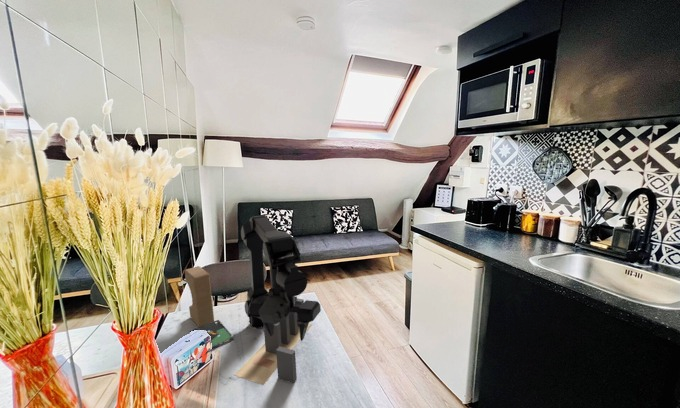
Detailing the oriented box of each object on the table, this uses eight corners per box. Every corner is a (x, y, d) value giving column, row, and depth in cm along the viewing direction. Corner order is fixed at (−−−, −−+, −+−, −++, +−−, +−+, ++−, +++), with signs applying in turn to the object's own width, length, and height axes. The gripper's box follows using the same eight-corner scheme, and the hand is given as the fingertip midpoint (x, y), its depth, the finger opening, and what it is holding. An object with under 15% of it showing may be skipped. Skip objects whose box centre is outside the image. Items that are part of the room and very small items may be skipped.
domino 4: (295, 335, 96) (294, 308, 94) (283, 332, 97) (281, 306, 96) (297, 333, 97) (296, 306, 95) (285, 330, 99) (283, 304, 97)
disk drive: (189, 338, 99) (202, 359, 88) (188, 331, 98) (201, 351, 87) (219, 325, 105) (235, 343, 95) (218, 319, 105) (234, 336, 94)
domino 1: (279, 355, 86) (277, 325, 85) (265, 351, 88) (263, 322, 87) (281, 351, 88) (280, 322, 86) (268, 348, 90) (266, 319, 88)
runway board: (234, 378, 79) (234, 374, 79) (289, 322, 106) (288, 319, 105) (263, 388, 75) (263, 384, 75) (312, 327, 102) (312, 324, 102)
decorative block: (190, 317, 111) (184, 269, 107) (205, 311, 114) (199, 265, 111) (198, 329, 103) (192, 278, 99) (214, 322, 106) (209, 273, 103)
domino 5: (302, 327, 100) (301, 301, 98) (290, 324, 102) (289, 299, 100) (304, 324, 102) (303, 299, 100) (292, 322, 103) (291, 297, 102)
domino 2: (287, 344, 91) (285, 316, 89) (274, 341, 93) (272, 314, 91) (290, 341, 92) (288, 314, 91) (277, 338, 94) (275, 311, 93)
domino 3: (293, 387, 76) (291, 354, 74) (278, 382, 77) (276, 350, 76) (296, 382, 77) (295, 350, 75) (281, 378, 79) (279, 346, 77)
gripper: (232, 292, 69) (238, 351, 70) (301, 299, 63) (305, 363, 65) (258, 275, 79) (263, 327, 81) (319, 280, 73) (323, 335, 75)
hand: (286, 337), depth 75 cm, fingers open, 9 cm apart
